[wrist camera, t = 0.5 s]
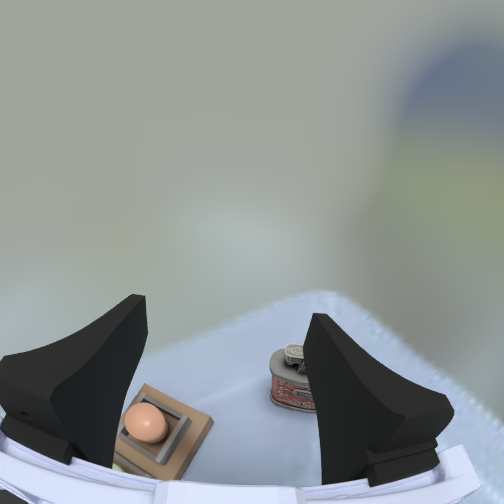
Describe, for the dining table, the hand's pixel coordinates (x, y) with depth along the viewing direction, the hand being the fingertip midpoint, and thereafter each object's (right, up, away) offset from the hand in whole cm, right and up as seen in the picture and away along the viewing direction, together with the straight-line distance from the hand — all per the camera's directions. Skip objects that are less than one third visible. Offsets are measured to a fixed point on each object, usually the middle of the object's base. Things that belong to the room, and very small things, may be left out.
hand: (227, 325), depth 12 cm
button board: (-11, -20, +7) cm, 24 cm away
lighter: (+7, -12, +15) cm, 21 cm away
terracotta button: (-8, -13, +10) cm, 18 cm away
